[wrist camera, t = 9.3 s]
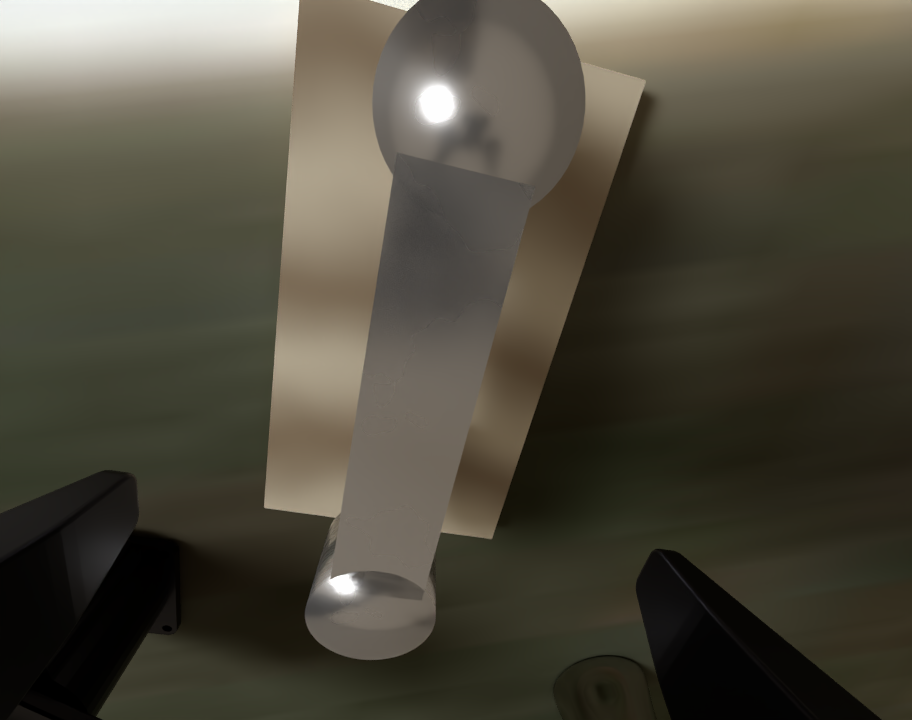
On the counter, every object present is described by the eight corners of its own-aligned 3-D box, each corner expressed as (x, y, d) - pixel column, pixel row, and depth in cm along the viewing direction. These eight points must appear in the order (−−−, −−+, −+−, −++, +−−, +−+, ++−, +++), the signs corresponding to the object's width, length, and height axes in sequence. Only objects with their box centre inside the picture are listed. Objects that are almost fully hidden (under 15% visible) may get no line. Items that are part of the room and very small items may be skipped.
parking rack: (489, 524, 23) (503, 613, 18) (271, 493, 21) (226, 582, 17) (633, 86, 15) (719, 49, 11) (309, -7, 14) (247, -97, 9)
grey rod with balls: (424, 586, 17) (422, 665, 14) (321, 574, 17) (299, 653, 14) (568, 56, 10) (616, 15, 8) (403, 8, 10) (390, -54, 7)
